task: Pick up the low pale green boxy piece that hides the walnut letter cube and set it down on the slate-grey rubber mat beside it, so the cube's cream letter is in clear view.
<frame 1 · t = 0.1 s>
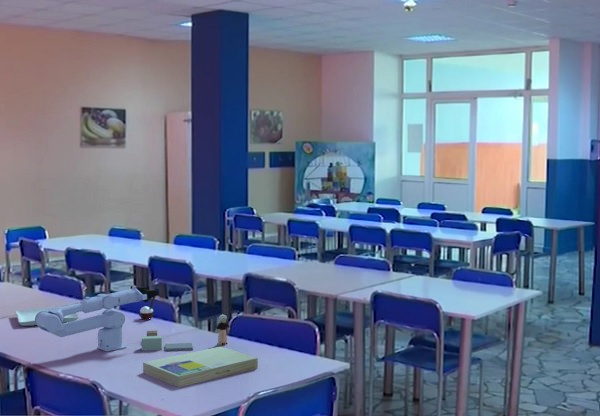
hand: (152, 290, 321), 22 cm above the table, tool horizontal, fingers open, 7 cm apart
letter cube: (152, 341, 320), on the table
rubber mat: (178, 348, 310), on the table
grandmother figurine: (223, 344, 317), on the table
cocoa: (146, 319, 364), on the table
square plate: (46, 321, 362), on the table
pale green boxy piece: (151, 349, 308), on the table
puzzle box: (200, 372, 278), on the table
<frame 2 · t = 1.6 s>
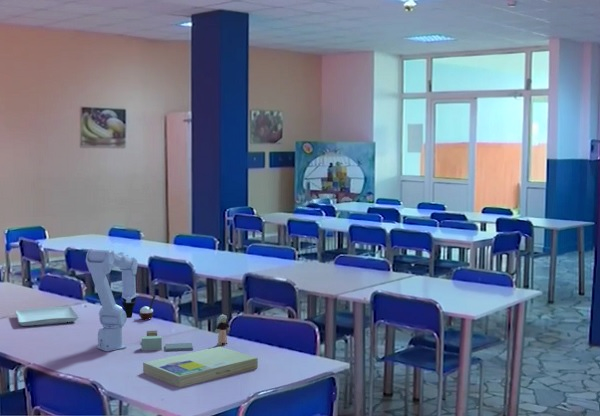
hand: (129, 315, 323), 10 cm above the table, tool pointing down, fingers open, 7 cm apart
nothing on the table moved.
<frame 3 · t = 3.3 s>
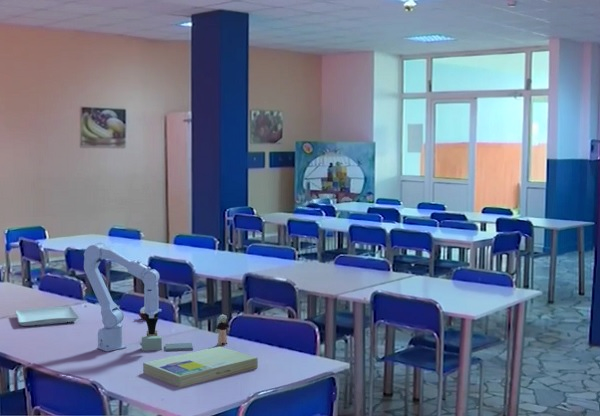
hand: (151, 331, 308), 7 cm above the table, tool pointing down, fingers open, 7 cm apart
nothing on the table moved.
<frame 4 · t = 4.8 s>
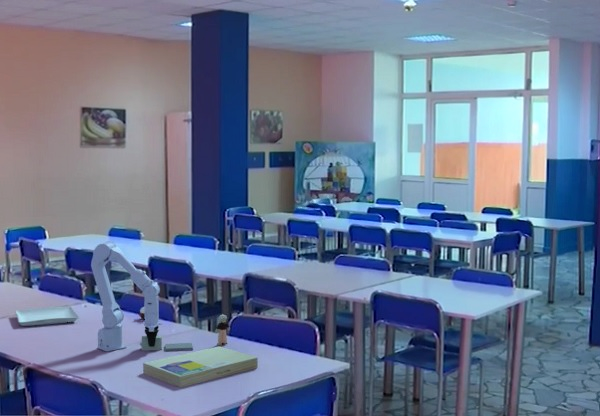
hand: (151, 344, 308), 2 cm above the table, tool pointing down, fingers closed on pale green boxy piece, 4 cm apart
pale green boxy piece: (151, 348, 308), on the table, touching gripper
everything else where it was.
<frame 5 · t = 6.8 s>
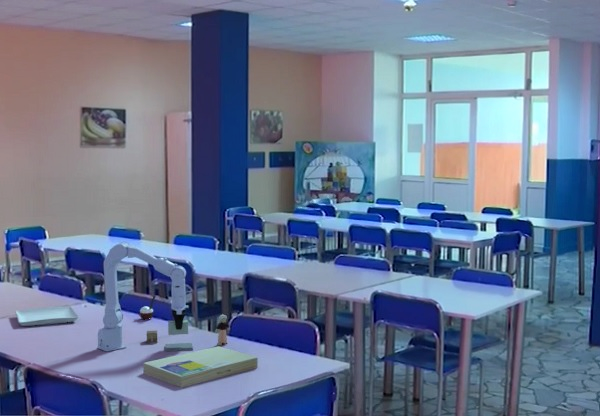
hand: (178, 328, 309), 8 cm above the table, tool pointing down, fingers closed on pale green boxy piece, 4 cm apart
pale green boxy piece: (178, 333, 309), point 6 cm above the table, touching gripper
everything else where it was.
when the fingers open (4 cm above the table, at t = 8.6 s): pale green boxy piece stays where it is, resting on rubber mat.
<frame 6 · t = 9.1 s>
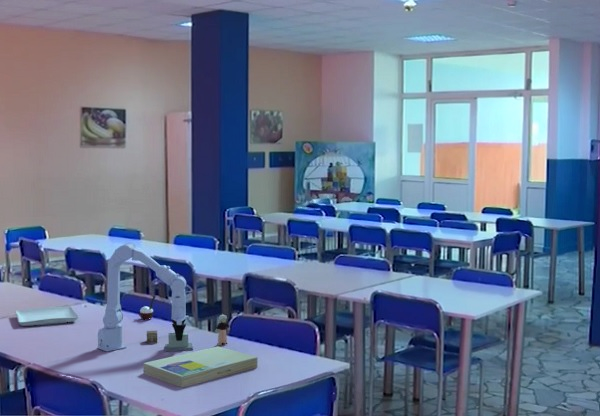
hand: (178, 338, 310), 4 cm above the table, tool pointing down, fingers open, 7 cm apart
pale green boxy piece: (178, 345, 310), point 1 cm above the table, touching rubber mat
everything else where it was.
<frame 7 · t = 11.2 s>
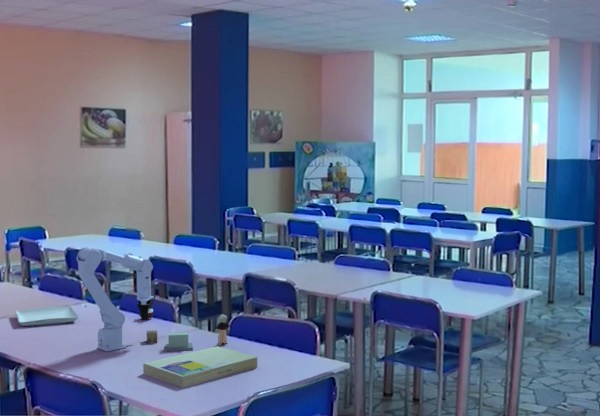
hand: (144, 318, 319), 10 cm above the table, tool pointing down, fingers open, 7 cm apart
nothing on the table moved.
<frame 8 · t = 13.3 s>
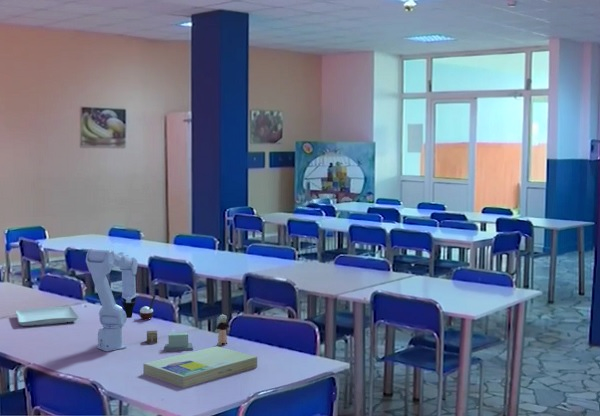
hand: (129, 315, 323), 10 cm above the table, tool pointing down, fingers open, 7 cm apart
nothing on the table moved.
at the end: pale green boxy piece 0.2 cm off-centre on the rubber mat, point 1.0 cm above the rubber mat's base; pale green boxy piece tilted 0°; the gripper is holding nothing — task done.
